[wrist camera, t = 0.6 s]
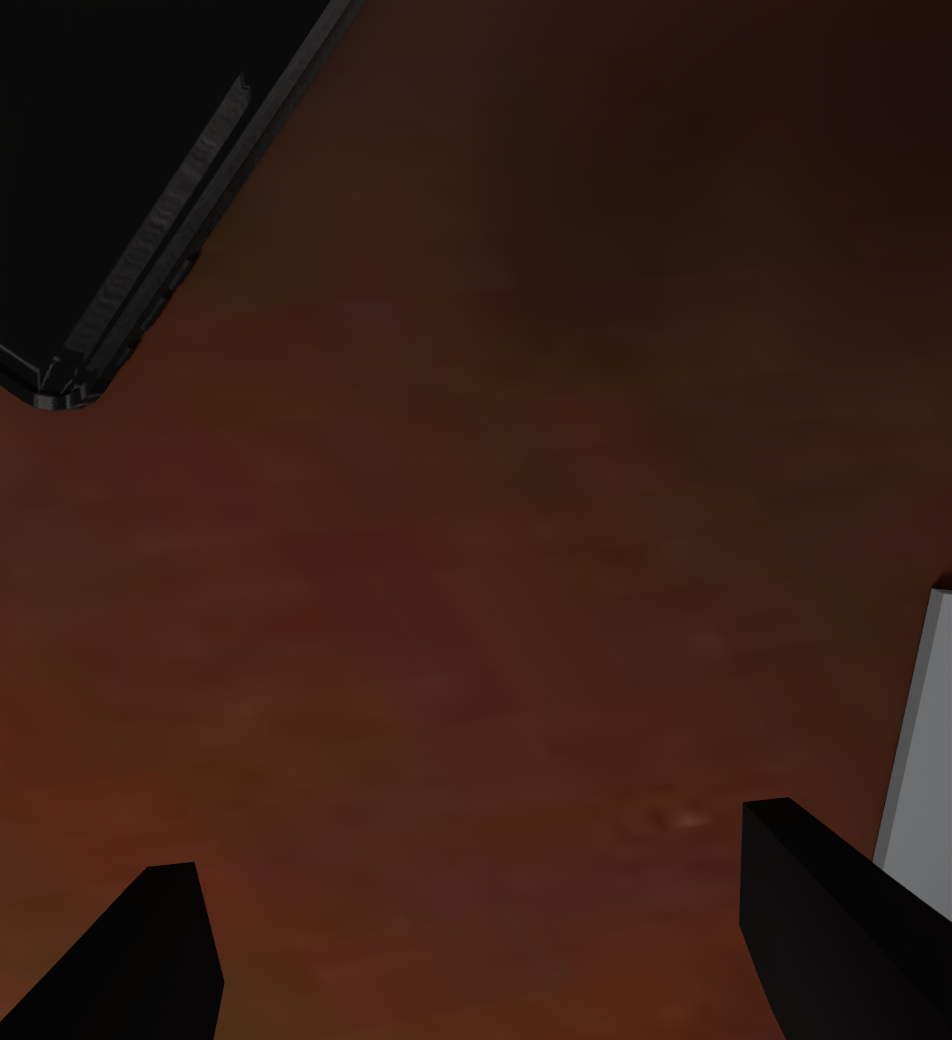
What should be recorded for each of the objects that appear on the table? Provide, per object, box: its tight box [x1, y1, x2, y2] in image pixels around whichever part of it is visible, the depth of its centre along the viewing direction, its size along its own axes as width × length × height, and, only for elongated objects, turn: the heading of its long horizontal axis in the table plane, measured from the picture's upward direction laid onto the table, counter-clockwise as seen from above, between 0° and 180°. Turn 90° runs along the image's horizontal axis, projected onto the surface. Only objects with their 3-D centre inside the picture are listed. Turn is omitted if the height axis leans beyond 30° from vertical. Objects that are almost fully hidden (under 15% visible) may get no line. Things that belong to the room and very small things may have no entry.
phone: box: [0, 0, 367, 411], centre depth 17 cm, size 8×1×15 cm
